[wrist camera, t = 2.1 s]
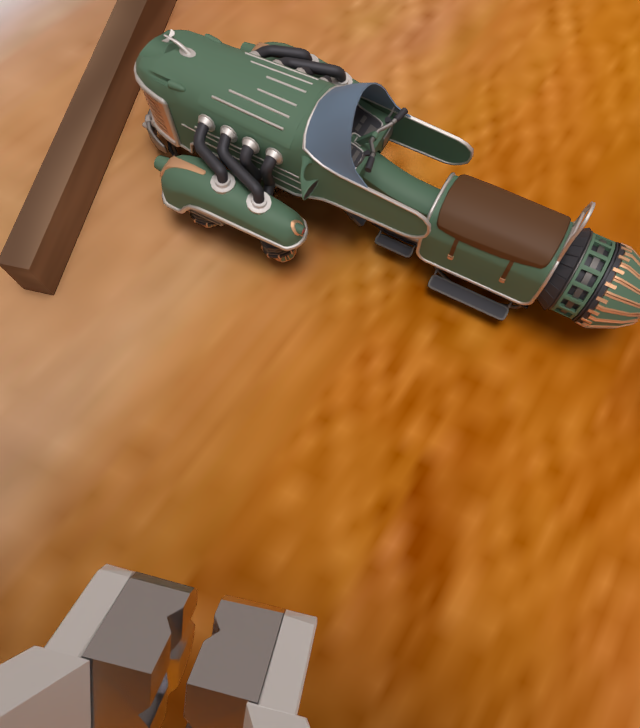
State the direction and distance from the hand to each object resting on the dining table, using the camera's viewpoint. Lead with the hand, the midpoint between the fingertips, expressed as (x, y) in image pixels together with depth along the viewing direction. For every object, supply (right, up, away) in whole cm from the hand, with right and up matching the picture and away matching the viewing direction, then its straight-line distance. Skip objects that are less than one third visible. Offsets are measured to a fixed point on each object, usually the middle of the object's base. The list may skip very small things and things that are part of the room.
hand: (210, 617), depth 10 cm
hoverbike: (+4, +11, +20) cm, 23 cm away
